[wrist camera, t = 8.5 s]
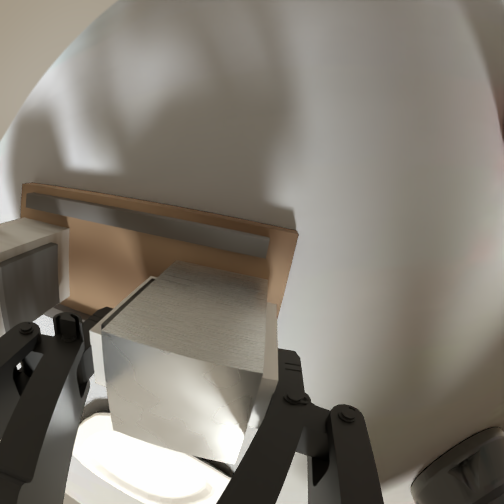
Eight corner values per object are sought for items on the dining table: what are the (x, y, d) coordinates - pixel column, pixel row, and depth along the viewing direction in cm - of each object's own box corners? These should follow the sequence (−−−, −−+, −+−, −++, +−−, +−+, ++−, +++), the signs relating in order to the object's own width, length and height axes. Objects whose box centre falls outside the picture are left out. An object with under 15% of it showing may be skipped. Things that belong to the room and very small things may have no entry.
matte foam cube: (267, 279, 16) (263, 373, 8) (249, 356, 17) (234, 464, 9) (166, 257, 16) (85, 324, 8) (159, 334, 17) (100, 424, 9)
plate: (63, 439, 26) (57, 447, 24) (113, 386, 22) (105, 397, 20) (171, 508, 28) (169, 516, 26) (260, 479, 24) (259, 491, 22)
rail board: (261, 368, 20) (253, 475, 11) (33, 299, 20) (-38, 346, 11) (296, 230, 17) (323, 287, 8) (32, 182, 17) (-61, 196, 8)
